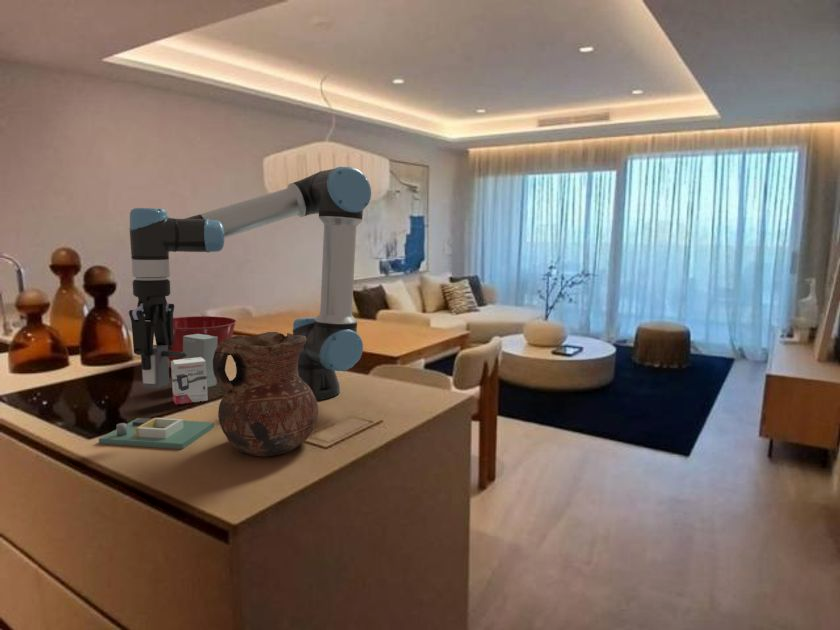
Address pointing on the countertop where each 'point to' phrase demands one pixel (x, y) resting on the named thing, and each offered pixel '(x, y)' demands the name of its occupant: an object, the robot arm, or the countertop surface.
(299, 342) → the jug
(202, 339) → the skincare box
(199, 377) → the ink box
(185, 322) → the mixing bowl
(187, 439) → the board
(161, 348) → the grey handled block
